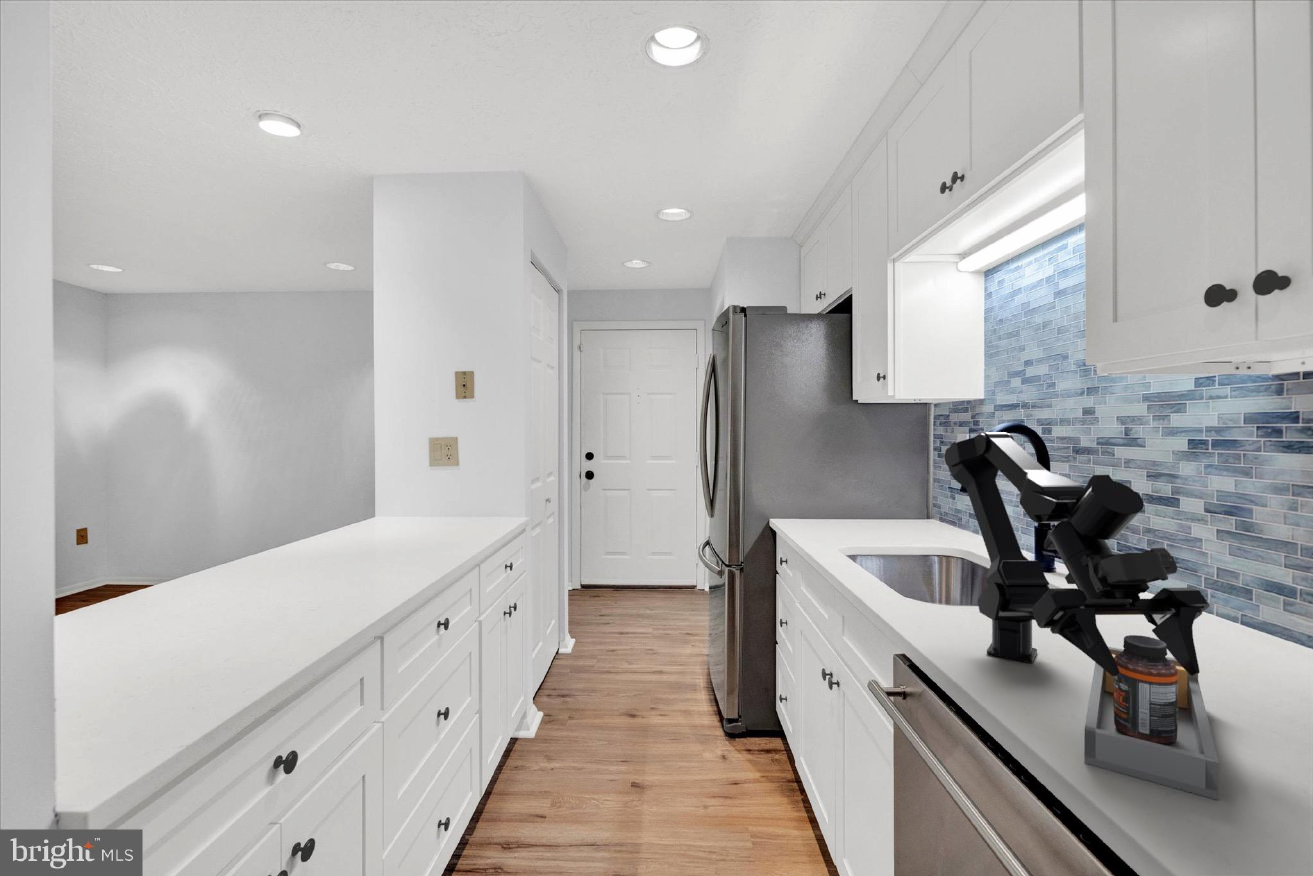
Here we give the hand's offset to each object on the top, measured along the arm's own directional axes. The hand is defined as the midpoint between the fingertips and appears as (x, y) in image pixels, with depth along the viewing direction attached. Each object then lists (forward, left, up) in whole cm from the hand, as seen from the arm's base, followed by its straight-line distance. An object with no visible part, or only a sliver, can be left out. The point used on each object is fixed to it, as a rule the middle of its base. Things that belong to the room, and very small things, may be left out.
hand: (1155, 674), depth 70 cm
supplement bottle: (-1, -1, -8) cm, 8 cm away
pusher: (-14, -1, -7) cm, 16 cm away
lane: (-4, -1, -9) cm, 10 cm away
